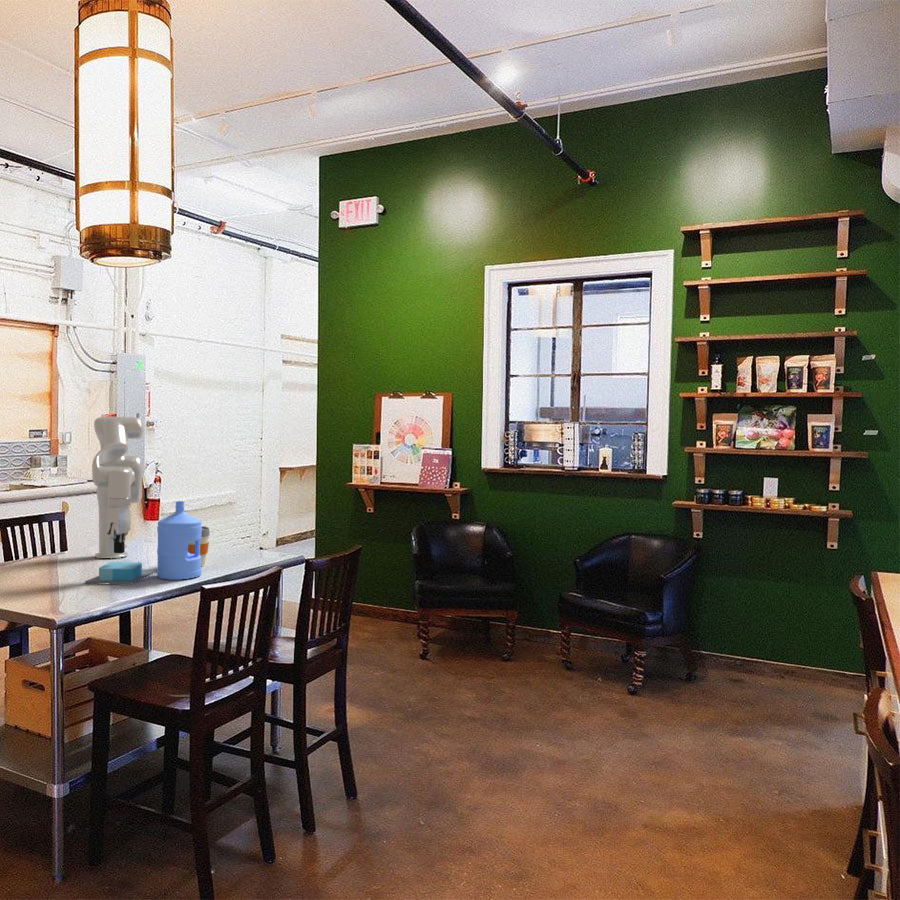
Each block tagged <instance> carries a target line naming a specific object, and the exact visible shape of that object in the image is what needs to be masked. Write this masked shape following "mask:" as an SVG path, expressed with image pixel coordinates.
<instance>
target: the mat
mask: <svg viewBox="0 0 900 900" xmlns="http://www.w3.org/2000/svg"><path fill="white" fill-rule="evenodd" d="M157 570H158V569H157ZM157 570H154V569H142V575H140V576H139V577H137V578H136V579H134V580H132V581H100V580H99V575H97V576H94V577H92V578H90V579H88V580H85V581H84V584H86V583H109V584H108V585H112V584H130V585H132V584H131V583H133V582H135V581H137V582H139V581H141V580H143V579H142V578H144V577H146V578H148V577H150V576H152V575H154V574H153V573H155V572H157ZM151 574H152V575H151ZM155 574H156V573H155ZM149 575H150V576H149ZM147 576H148V577H147ZM140 579H141V580H140ZM144 579H145V578H144ZM138 580H139V581H138ZM135 583H136V582H135ZM133 584H134V583H133Z"/></svg>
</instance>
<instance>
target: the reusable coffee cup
mask: <svg viewBox="0 0 900 900" xmlns="http://www.w3.org/2000/svg"><path fill="white" fill-rule="evenodd" d="M209 538H210V527H207V526H203V525H202V532H201V539H200V556H201V566H203V567H204V565H206V558H207V554H208V552H209V551H208V550H209V544H210V541H209ZM188 553H190V554H195V541H189V542H188Z"/></svg>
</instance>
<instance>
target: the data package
mask: <svg viewBox="0 0 900 900" xmlns="http://www.w3.org/2000/svg"><path fill="white" fill-rule="evenodd" d="M142 570H143V563H142V562H141V561H139V562H138V561H122V562H121V561H111V562H110V561H109V562H108V563H106V564H103V565H101V566H100V567H98V576H99V580H100V581H132V580H134V579H136V578H137V577H139V576H140V575H142Z"/></svg>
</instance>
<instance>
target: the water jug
mask: <svg viewBox="0 0 900 900" xmlns="http://www.w3.org/2000/svg"><path fill="white" fill-rule="evenodd" d="M174 508H175V512H174V513H172V514H170V515H168V516H165V517H164V518H162V519H159V521H157V549H156V553H157V554H156V555H157V573H156V575H157V577H158V578H159V579H161V580H164V579H169V580H168V581H183V580H182V579H187V580H190V579H189V578H193V579H195V578H194V577H196V578H199V577H200V576H201V575H202V567H201V556H200V539H201V532H202V526H203V525H202V520H201V519H200V518H198V517H196V516H192V515H190V513H189V514H188V513H186V512H185V501H183V500H181V501H180V500H177V501H175V507H174ZM189 541H195V554H190V553H188V542H189ZM198 576H199V577H198Z"/></svg>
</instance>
